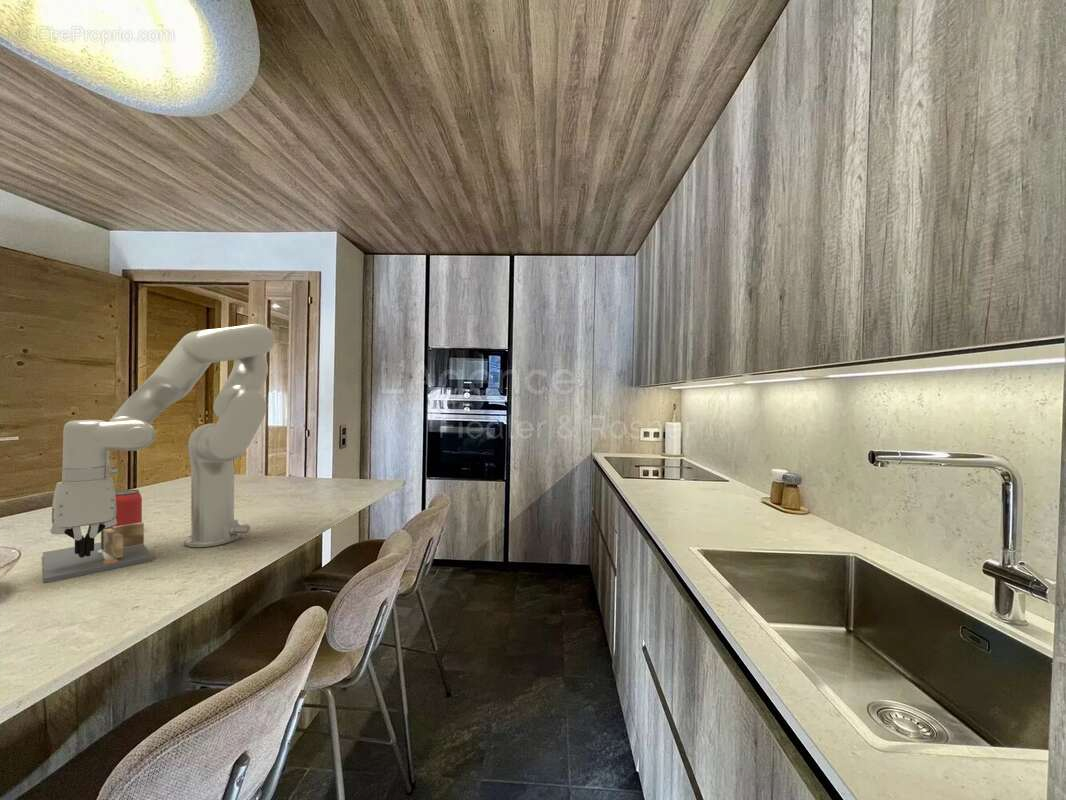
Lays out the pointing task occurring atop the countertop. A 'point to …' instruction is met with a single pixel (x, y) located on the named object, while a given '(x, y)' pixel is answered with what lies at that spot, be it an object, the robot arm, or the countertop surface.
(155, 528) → the countertop surface
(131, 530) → the bar
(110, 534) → the fence gate
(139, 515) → the beer can
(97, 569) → the card
